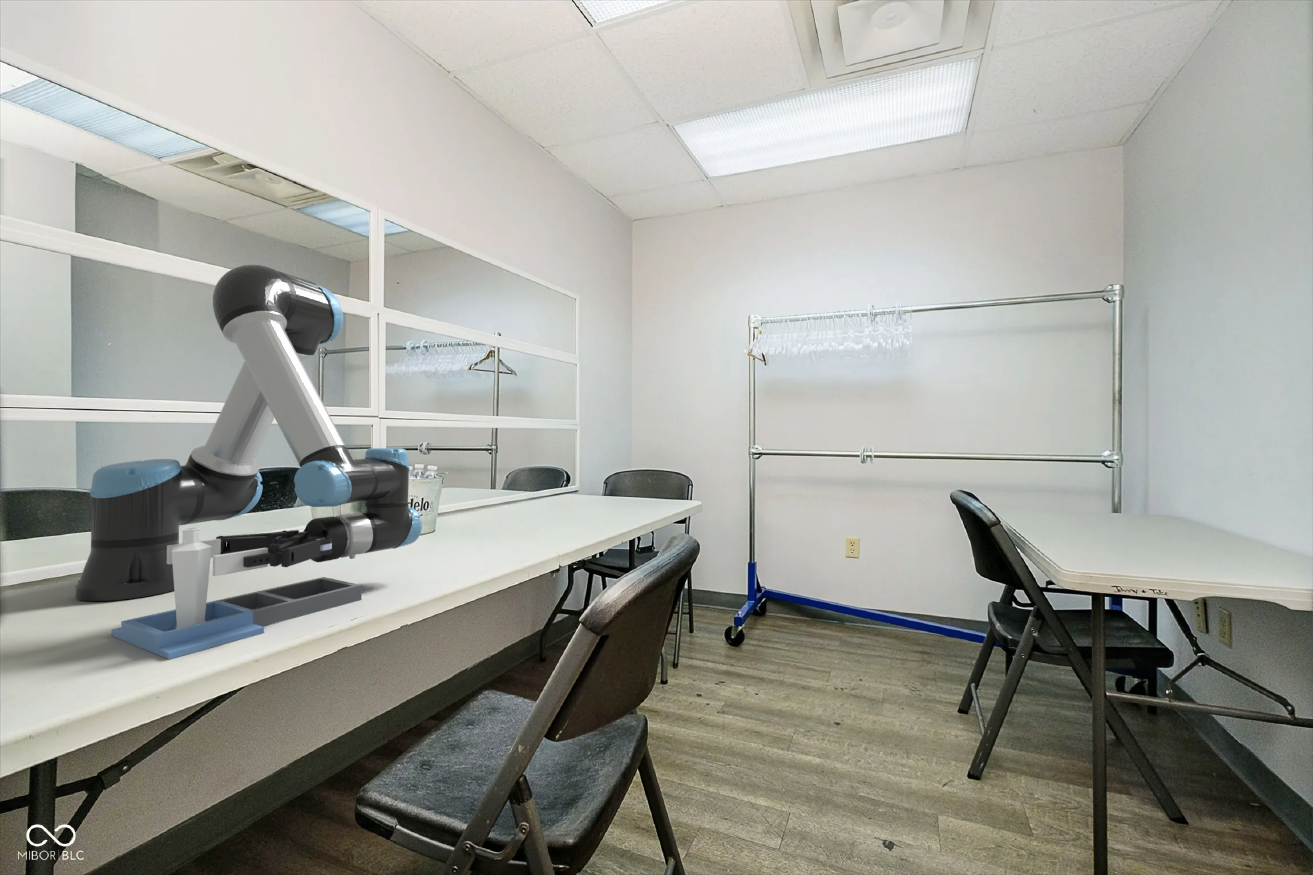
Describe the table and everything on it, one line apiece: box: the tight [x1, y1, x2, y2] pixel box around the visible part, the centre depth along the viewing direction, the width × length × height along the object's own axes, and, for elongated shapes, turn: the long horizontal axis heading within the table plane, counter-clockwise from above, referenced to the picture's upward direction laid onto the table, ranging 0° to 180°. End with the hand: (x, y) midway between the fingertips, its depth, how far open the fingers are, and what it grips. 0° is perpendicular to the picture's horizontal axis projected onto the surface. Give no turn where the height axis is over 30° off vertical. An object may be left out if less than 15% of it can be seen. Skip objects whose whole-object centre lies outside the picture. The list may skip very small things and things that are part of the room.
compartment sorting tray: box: [111, 576, 363, 660], centre depth 86 cm, size 28×17×2 cm, turn 152°
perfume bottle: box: [172, 527, 212, 629], centre depth 78 cm, size 5×4×15 cm
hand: (189, 560), depth 78 cm, fingers open, 13 cm apart
